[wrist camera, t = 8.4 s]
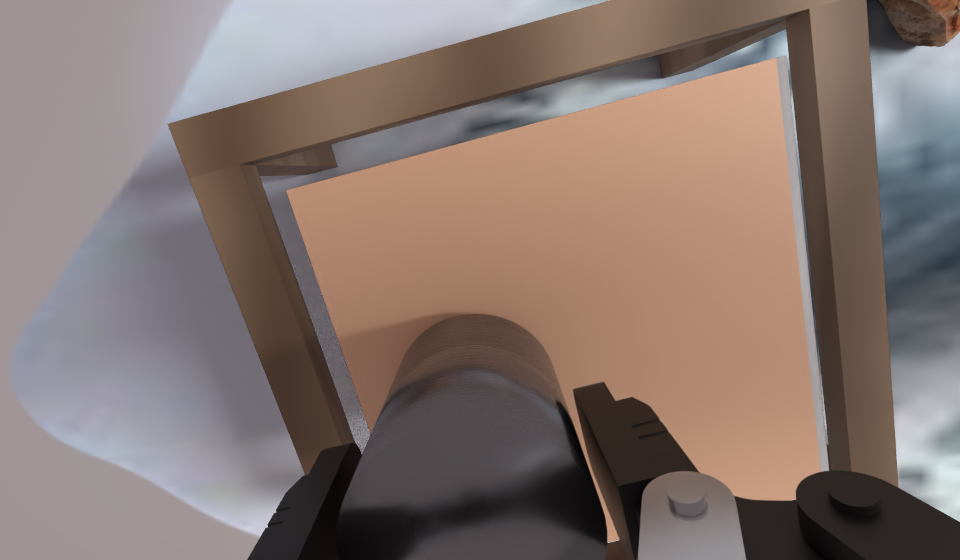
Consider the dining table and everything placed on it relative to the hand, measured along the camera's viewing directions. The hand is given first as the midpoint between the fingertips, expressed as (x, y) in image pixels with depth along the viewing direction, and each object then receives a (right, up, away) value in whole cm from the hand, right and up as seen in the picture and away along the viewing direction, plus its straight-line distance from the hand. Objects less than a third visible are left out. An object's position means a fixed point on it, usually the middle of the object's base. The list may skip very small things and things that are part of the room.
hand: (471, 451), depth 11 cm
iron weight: (0, +1, +3) cm, 3 cm away
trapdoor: (+3, +2, +5) cm, 6 cm away
